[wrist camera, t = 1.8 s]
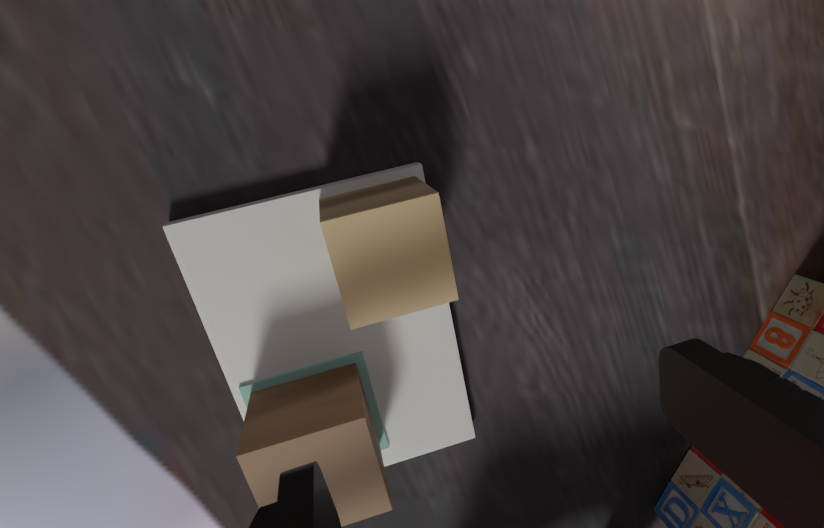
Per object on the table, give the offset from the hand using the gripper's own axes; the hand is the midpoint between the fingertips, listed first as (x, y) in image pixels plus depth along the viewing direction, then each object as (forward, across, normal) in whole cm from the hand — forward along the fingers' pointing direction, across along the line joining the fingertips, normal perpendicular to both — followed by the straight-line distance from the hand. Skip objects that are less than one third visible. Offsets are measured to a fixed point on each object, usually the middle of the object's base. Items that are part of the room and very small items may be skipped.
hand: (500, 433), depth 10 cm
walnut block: (+15, +7, +9) cm, 19 cm away
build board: (+16, +4, +5) cm, 18 cm away
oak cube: (+15, 0, -1) cm, 15 cm away
